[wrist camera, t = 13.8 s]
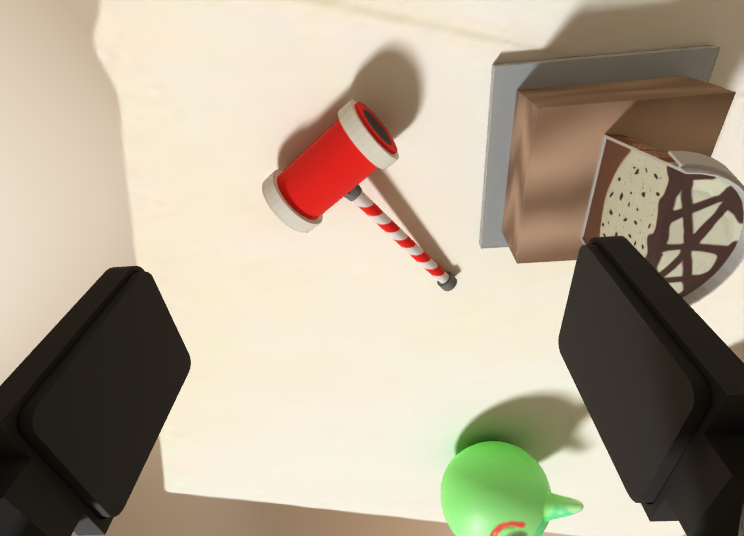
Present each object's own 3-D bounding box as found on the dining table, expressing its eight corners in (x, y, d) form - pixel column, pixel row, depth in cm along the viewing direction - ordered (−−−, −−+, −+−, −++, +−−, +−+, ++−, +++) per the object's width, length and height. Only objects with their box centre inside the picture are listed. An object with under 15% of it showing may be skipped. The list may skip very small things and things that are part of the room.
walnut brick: (516, 89, 36) (538, 107, 31) (686, 75, 35) (735, 92, 30) (501, 231, 44) (517, 263, 39) (639, 222, 43) (672, 254, 38)
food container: (646, 248, 38) (719, 323, 30) (576, 252, 38) (630, 328, 30) (694, 107, 31) (807, 155, 23) (608, 114, 31) (689, 163, 23)
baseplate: (492, 64, 36) (495, 66, 35) (712, 45, 35) (720, 47, 34) (479, 243, 46) (481, 248, 45) (648, 233, 45) (653, 237, 44)
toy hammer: (492, 251, 47) (506, 285, 42) (410, 304, 52) (414, 341, 47) (354, 89, 38) (350, 107, 32) (268, 171, 42) (252, 199, 37)
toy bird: (447, 417, 64) (463, 520, 52) (556, 424, 65) (597, 527, 52) (428, 480, 74) (438, 578, 62) (522, 485, 75) (550, 583, 63)
